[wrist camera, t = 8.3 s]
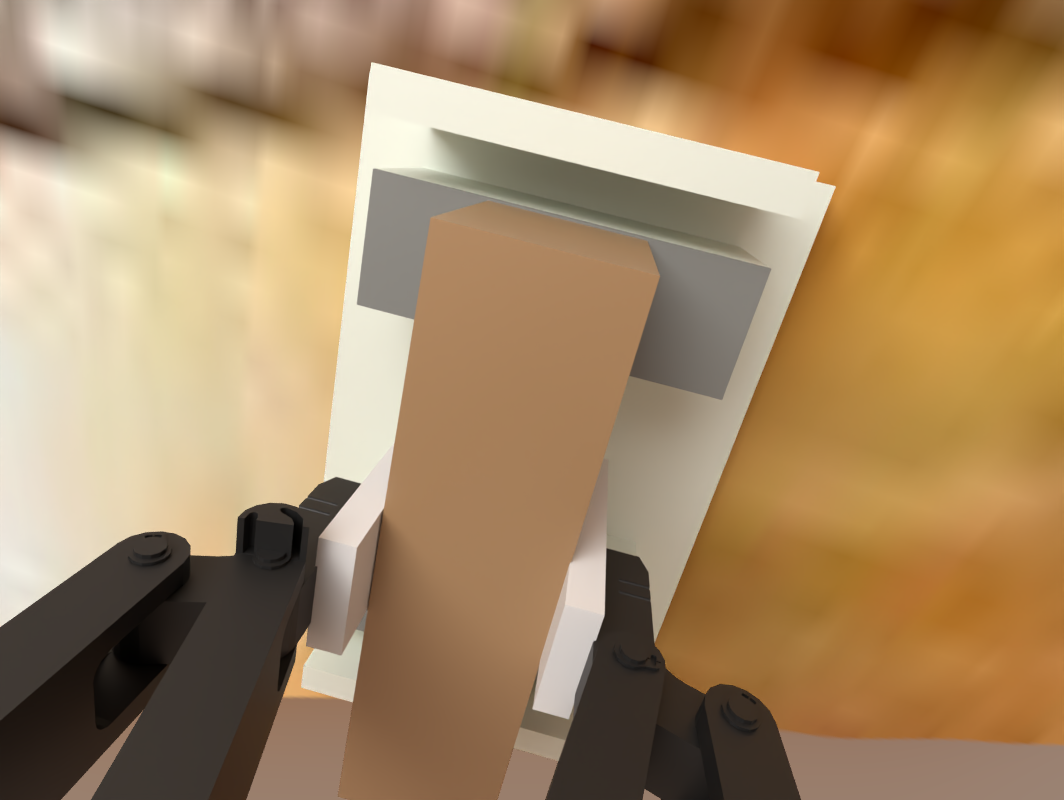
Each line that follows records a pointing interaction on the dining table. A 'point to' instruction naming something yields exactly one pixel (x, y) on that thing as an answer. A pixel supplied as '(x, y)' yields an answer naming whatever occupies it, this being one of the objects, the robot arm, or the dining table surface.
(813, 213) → the stand
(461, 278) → the tan wooden plank
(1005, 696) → the dining table surface
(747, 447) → the dining table surface
